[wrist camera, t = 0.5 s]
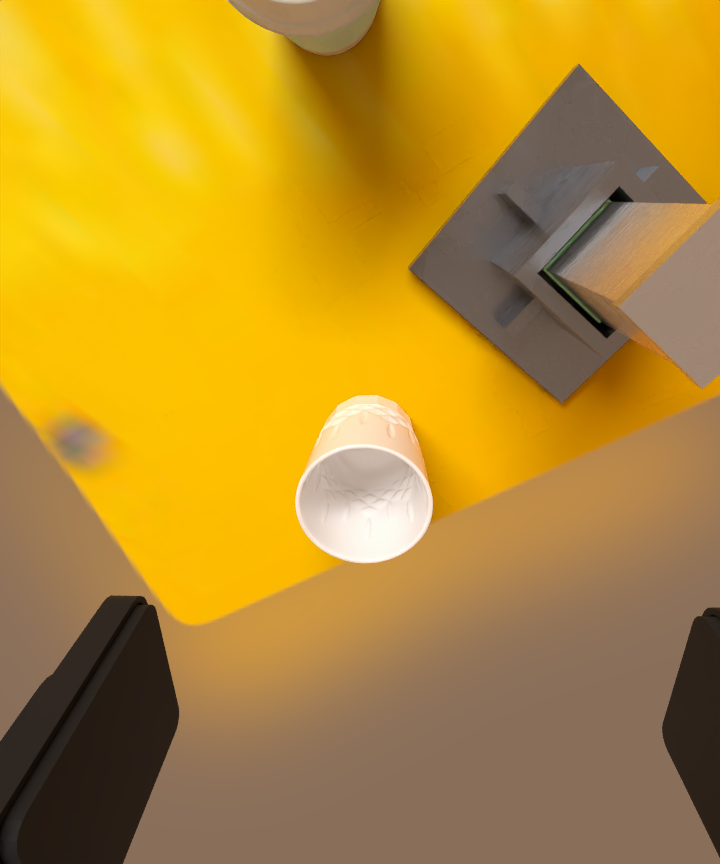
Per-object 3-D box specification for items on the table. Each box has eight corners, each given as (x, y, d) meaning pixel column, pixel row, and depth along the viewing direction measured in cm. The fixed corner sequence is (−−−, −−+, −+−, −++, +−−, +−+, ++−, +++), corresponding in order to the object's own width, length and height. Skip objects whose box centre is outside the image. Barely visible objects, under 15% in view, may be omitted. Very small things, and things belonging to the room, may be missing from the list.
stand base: (573, 67, 30) (632, 26, 23) (728, 236, 33) (824, 246, 26) (408, 266, 35) (413, 285, 28) (557, 398, 38) (597, 446, 31)
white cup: (324, 376, 38) (304, 433, 29) (433, 396, 39) (447, 458, 29) (309, 473, 42) (287, 551, 32) (410, 491, 42) (416, 573, 33)
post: (573, 196, 32) (733, 195, 17) (625, 248, 33) (818, 289, 18) (516, 258, 33) (618, 307, 19) (567, 306, 34) (702, 388, 20)
